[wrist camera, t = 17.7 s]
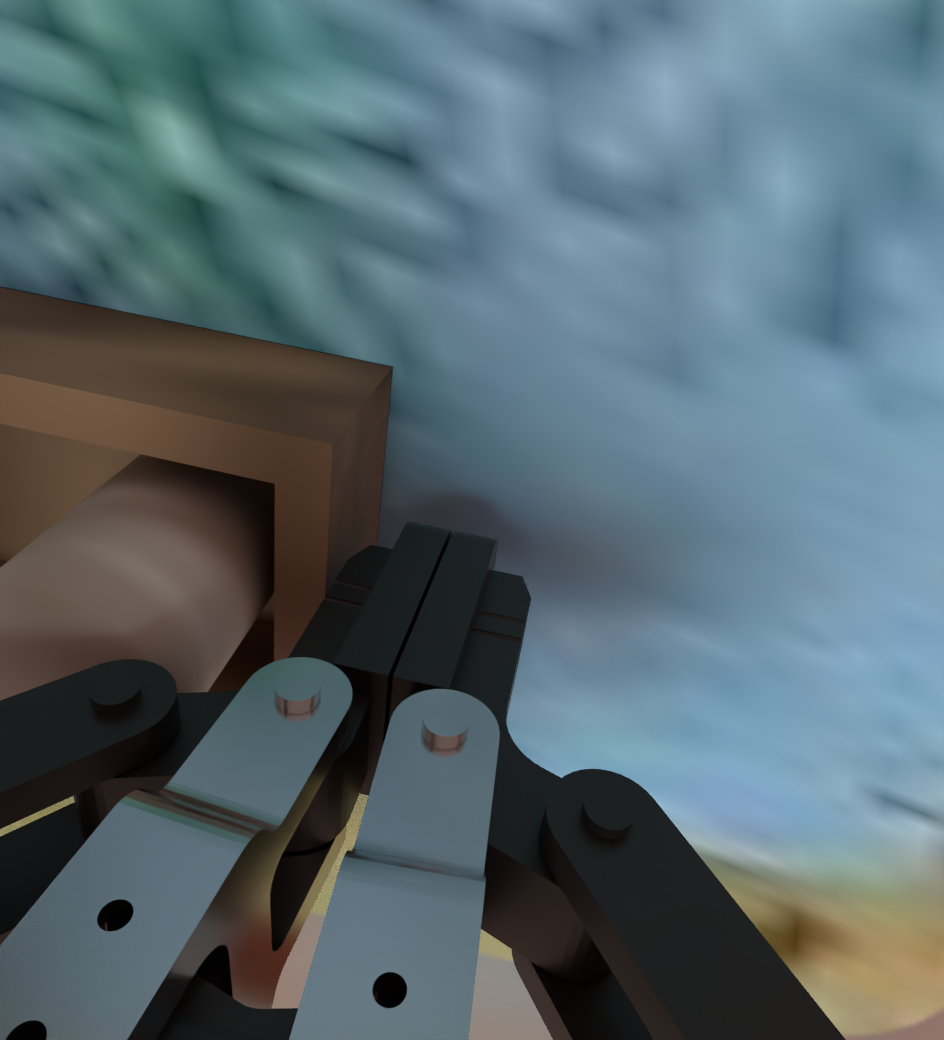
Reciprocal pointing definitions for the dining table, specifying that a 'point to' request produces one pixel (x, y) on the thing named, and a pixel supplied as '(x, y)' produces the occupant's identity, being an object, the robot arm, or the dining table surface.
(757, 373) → the dining table surface
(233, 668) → the tray
